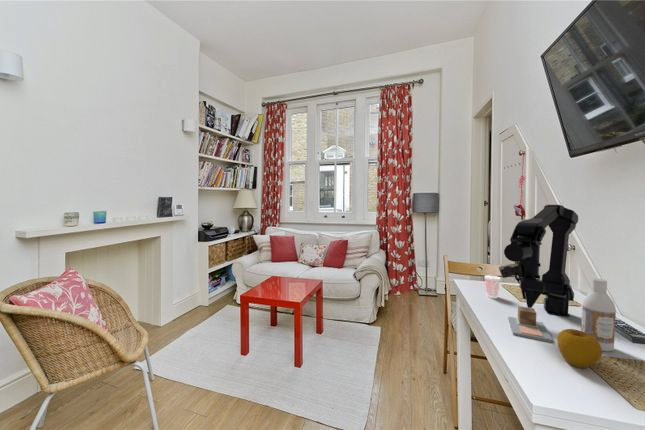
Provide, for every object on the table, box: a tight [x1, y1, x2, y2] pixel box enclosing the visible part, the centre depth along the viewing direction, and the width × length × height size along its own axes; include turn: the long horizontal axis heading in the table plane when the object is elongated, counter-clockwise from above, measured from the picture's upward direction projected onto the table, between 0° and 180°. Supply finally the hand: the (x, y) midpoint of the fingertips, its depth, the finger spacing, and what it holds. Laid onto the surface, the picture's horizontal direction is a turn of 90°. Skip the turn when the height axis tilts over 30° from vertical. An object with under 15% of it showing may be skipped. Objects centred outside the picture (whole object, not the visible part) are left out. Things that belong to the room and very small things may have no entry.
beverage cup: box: [483, 265, 501, 299], centre depth 123 cm, size 6×6×14 cm
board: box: [507, 316, 554, 343], centre depth 91 cm, size 10×14×1 cm
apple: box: [556, 328, 603, 369], centre depth 72 cm, size 8×8×9 cm
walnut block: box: [517, 305, 537, 326], centre depth 94 cm, size 4×4×4 cm
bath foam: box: [580, 278, 617, 352], centre depth 80 cm, size 7×7×20 cm
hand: (527, 303), depth 94 cm, fingers open, 9 cm apart
